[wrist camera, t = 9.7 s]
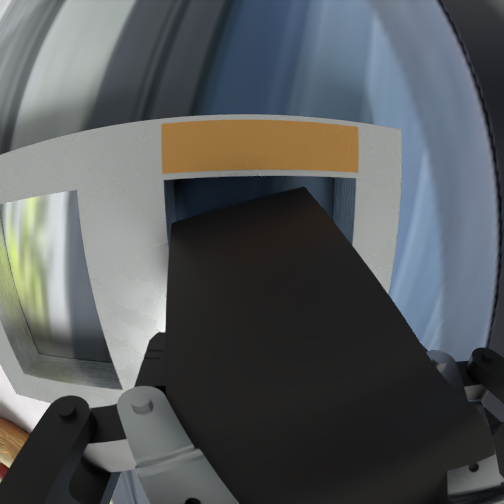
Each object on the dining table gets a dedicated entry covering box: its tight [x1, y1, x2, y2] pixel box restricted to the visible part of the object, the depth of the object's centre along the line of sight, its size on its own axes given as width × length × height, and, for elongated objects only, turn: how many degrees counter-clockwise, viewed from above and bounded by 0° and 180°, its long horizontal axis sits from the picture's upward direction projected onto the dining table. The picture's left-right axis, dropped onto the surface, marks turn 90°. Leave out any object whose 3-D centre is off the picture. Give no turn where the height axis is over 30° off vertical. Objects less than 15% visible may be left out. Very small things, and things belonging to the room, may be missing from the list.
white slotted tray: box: [0, 114, 402, 408], centre depth 13 cm, size 25×16×3 cm, turn 91°
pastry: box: [0, 418, 30, 480], centre depth 15 cm, size 12×12×9 cm
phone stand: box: [165, 187, 495, 504], centre depth 8 cm, size 9×6×12 cm, turn 14°
